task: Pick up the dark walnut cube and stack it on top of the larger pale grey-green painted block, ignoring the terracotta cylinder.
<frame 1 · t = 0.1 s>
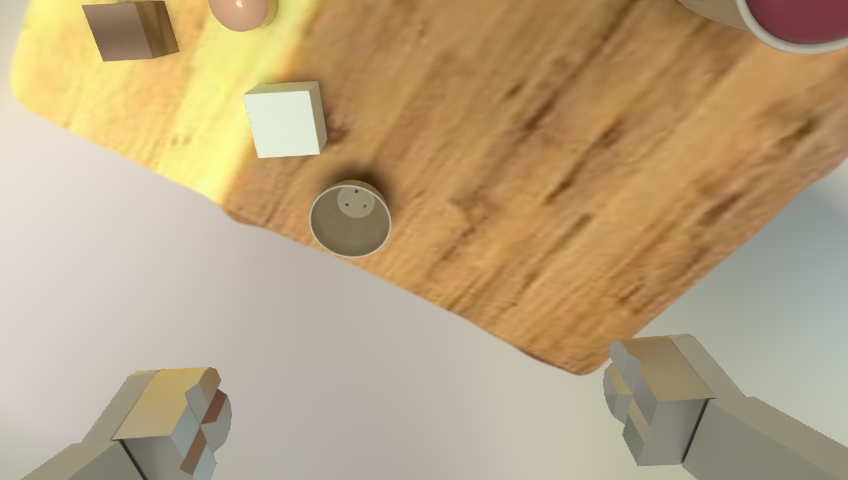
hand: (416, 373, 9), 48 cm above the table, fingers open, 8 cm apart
walnut block: (149, 28, 48), on the table
flower pot: (356, 198, 59), on the table
terracotta cylinder: (253, 1, 47), on the table
grey block: (294, 112, 53), on the table
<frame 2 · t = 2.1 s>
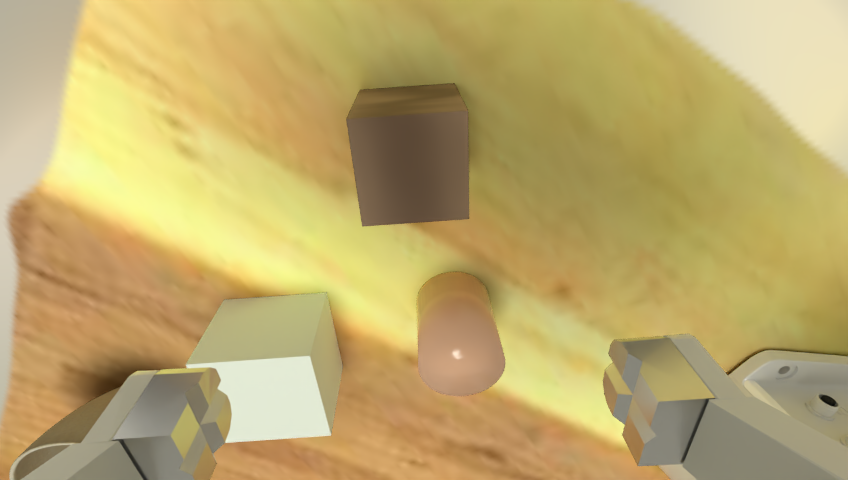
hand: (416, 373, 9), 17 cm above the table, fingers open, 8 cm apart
walnut block: (410, 132, 24), on the table
flower pot: (153, 400, 35), on the table
terracotta cylinder: (452, 301, 30), on the table
grey block: (287, 333, 31), on the table
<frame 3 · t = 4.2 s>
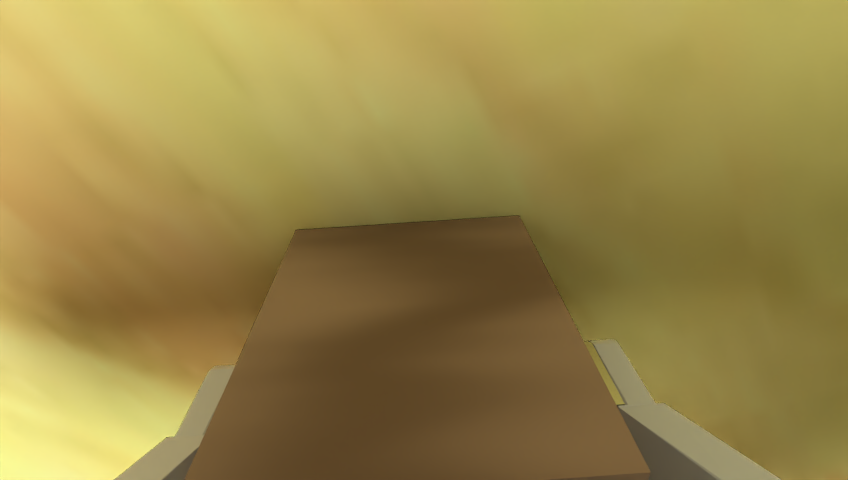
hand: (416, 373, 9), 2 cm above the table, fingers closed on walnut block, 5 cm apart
walnut block: (414, 310, 11), on the table, touching gripper
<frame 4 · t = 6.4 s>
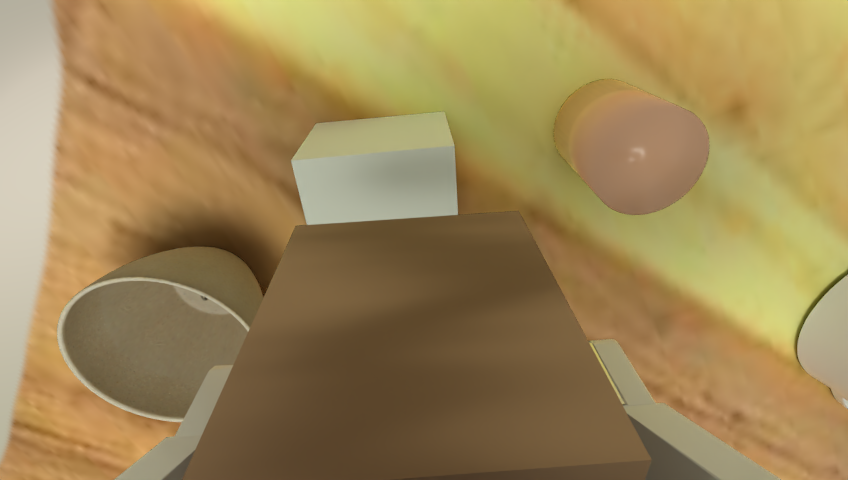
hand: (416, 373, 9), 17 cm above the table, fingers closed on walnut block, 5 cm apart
walnut block: (414, 306, 11), point 15 cm above the table, touching gripper
flower pot: (217, 276, 29), on the table
terracotta cylinder: (598, 126, 24), on the table
grey block: (388, 176, 25), on the table
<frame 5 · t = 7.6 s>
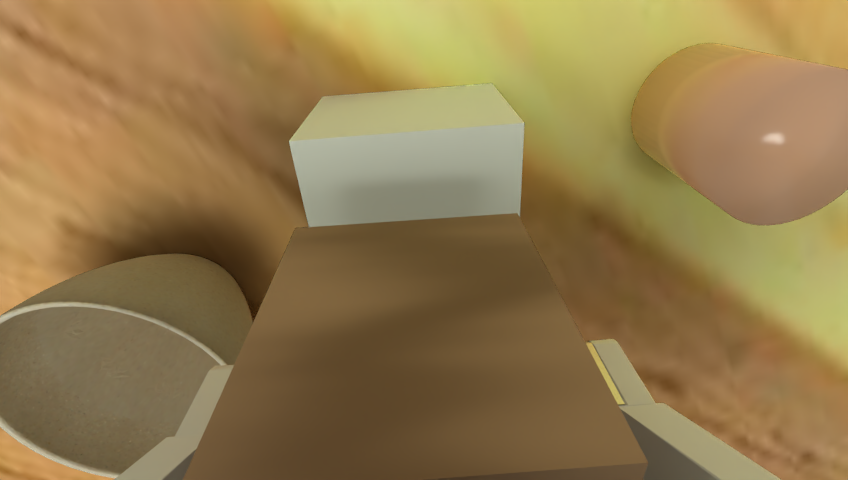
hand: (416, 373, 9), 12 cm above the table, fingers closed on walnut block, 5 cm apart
walnut block: (413, 308, 11), point 10 cm above the table, touching gripper
flower pot: (195, 290, 23), on the table
terracotta cylinder: (690, 106, 19), on the table
grey block: (414, 168, 20), on the table
when the fingers open (9 cm above the table, at t = 8.6 s): walnut block stays where it is, resting on grey block.
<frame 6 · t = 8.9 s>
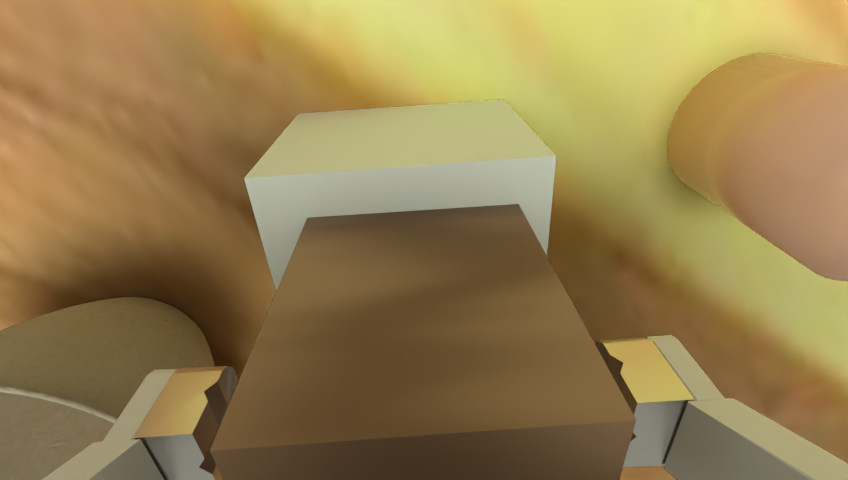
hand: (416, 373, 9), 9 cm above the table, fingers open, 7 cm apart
walnut block: (419, 295, 12), point 6 cm above the table, touching grey block
flower pot: (152, 336, 20), on the table
terracotta cylinder: (737, 127, 16), on the table
grey block: (409, 198, 17), on the table, touching walnut block
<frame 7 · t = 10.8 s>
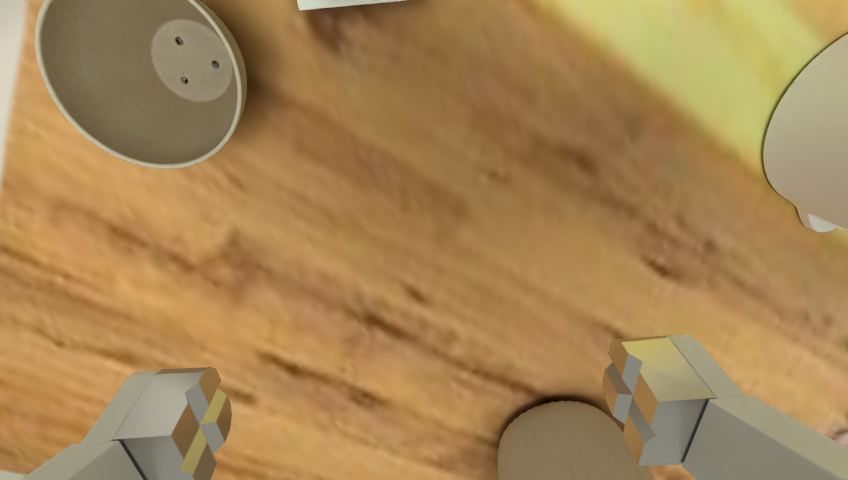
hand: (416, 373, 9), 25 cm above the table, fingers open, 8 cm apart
canister: (551, 430, 50), on the table
flower pot: (197, 59, 29), on the table
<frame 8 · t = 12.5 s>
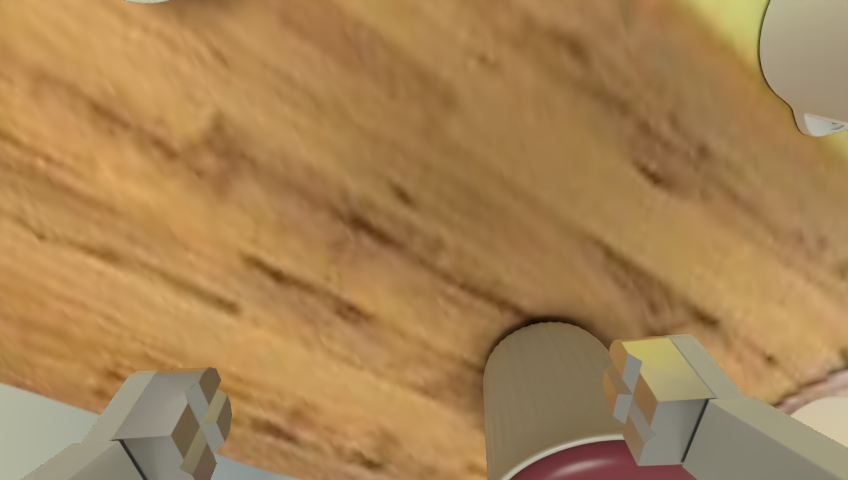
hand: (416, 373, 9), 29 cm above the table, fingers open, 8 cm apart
canister: (539, 357, 50), on the table
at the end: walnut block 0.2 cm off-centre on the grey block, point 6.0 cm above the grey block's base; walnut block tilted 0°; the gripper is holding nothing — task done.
